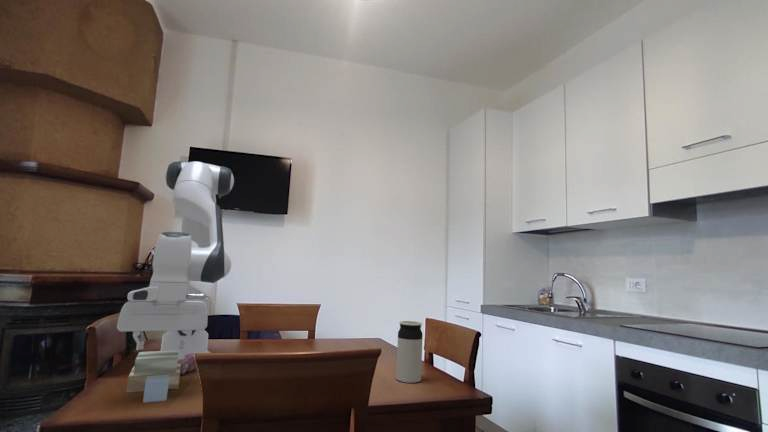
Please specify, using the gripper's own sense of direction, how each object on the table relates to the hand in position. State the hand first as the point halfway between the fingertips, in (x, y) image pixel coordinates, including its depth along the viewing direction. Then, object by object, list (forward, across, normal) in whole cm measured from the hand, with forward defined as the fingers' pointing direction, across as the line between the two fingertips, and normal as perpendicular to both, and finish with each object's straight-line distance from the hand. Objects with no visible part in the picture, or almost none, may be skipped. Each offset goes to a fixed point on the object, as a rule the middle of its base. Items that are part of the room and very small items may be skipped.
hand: (161, 348), depth 99 cm
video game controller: (+12, -7, -25) cm, 28 cm away
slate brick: (+12, 0, -1) cm, 12 cm away
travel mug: (+12, -71, +4) cm, 72 cm away
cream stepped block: (+12, +1, -14) cm, 18 cm away
